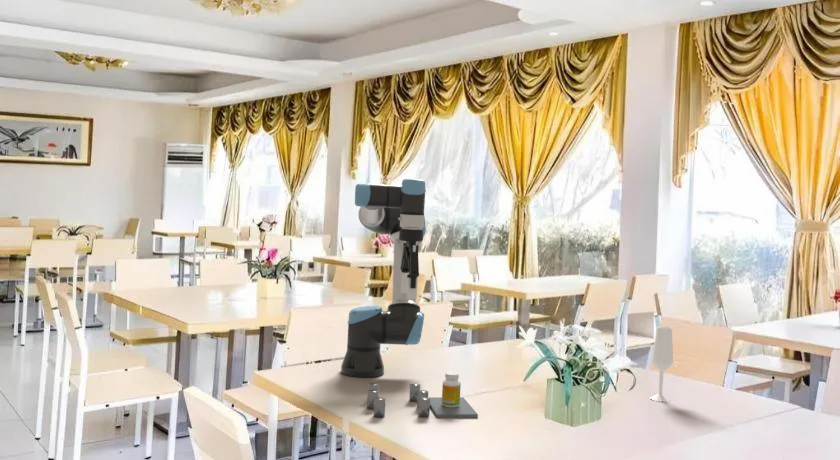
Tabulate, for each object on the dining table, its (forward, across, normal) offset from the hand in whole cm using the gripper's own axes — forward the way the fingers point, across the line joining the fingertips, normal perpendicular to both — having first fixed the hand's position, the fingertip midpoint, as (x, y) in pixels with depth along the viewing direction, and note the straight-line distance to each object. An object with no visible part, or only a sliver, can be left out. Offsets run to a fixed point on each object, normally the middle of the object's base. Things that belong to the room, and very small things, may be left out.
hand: (408, 295), depth 236 cm
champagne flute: (+32, +5, +85) cm, 91 cm away
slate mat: (+32, +15, +12) cm, 37 cm away
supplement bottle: (+31, +15, +12) cm, 36 cm away
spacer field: (+32, +14, -4) cm, 35 cm away
